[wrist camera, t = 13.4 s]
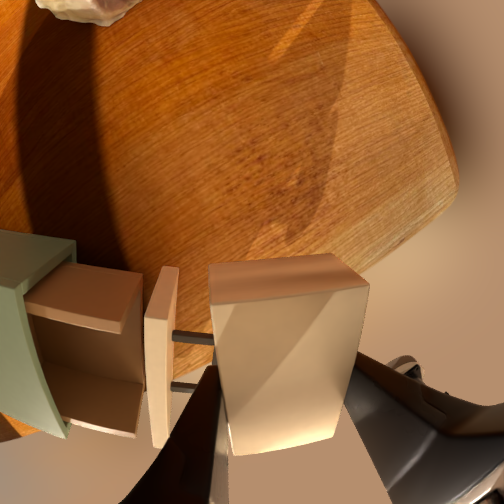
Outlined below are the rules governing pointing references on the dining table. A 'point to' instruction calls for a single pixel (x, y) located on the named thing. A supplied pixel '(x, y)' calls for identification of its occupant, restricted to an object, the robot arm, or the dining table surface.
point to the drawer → (108, 346)
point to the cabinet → (26, 328)
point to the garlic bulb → (89, 10)
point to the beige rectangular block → (285, 346)
